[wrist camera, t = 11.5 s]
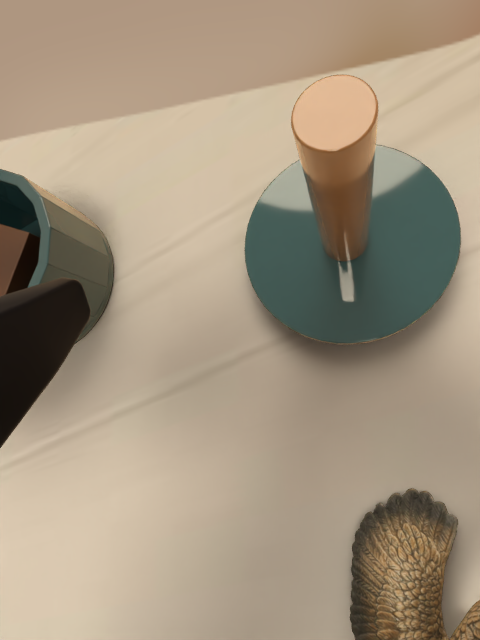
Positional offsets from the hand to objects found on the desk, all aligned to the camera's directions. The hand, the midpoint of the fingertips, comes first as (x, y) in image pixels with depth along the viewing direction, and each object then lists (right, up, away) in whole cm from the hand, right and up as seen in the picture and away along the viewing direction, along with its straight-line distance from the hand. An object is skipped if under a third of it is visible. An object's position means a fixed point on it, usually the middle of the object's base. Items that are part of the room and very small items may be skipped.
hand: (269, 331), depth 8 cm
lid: (+5, +4, +12) cm, 13 cm away
